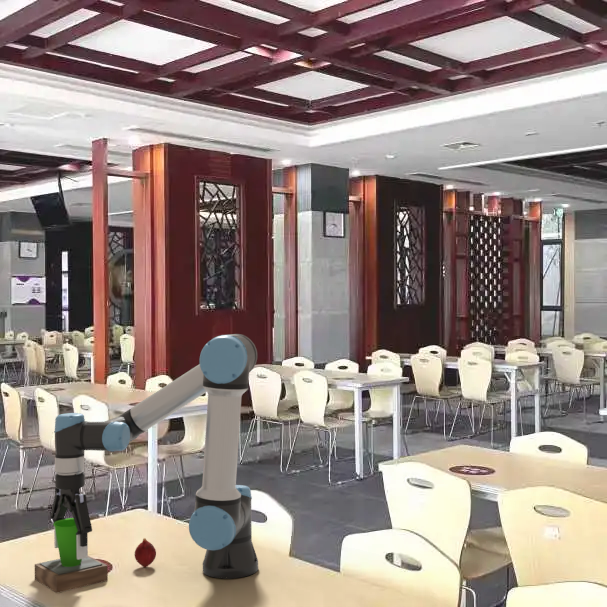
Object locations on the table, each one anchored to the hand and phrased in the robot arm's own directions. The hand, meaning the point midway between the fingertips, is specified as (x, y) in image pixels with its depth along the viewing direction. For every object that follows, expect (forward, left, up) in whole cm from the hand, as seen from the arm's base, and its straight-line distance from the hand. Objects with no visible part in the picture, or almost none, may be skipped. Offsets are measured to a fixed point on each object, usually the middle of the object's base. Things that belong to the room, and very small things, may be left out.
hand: (70, 552), depth 218 cm
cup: (0, 0, -3) cm, 3 cm away
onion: (-4, -20, -7) cm, 22 cm away
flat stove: (0, 0, -7) cm, 7 cm away
